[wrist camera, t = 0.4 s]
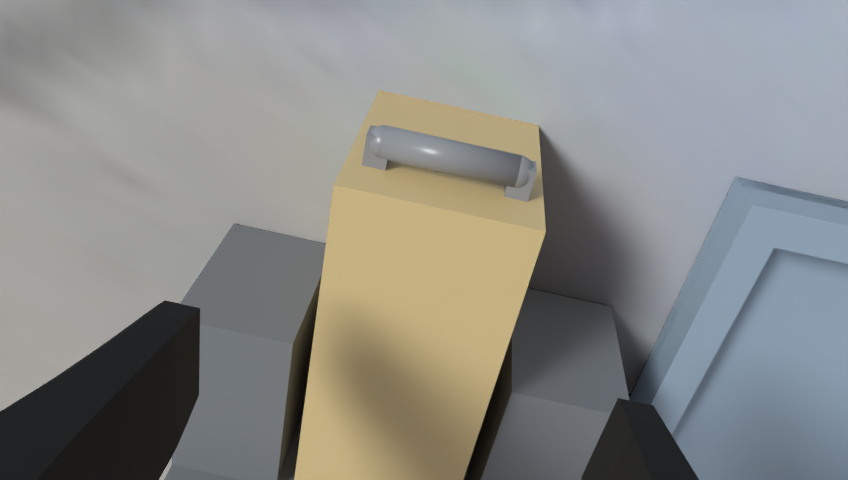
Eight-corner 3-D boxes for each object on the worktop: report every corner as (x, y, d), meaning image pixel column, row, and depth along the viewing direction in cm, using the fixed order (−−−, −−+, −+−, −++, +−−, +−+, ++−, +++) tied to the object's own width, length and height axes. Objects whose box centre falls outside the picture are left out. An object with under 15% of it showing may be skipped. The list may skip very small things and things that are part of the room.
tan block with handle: (547, 92, 18) (558, 193, 13) (457, 396, 24) (442, 540, 19) (385, 56, 18) (339, 145, 13) (334, 369, 24) (290, 507, 19)
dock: (611, 306, 21) (642, 468, 16) (520, 522, 26) (522, 693, 21) (233, 223, 21) (142, 359, 16) (222, 457, 26) (152, 613, 21)
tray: (1080, 253, 18) (1122, 286, 17) (806, 580, 26) (821, 620, 25) (735, 177, 18) (752, 204, 17) (566, 528, 26) (568, 565, 25)
